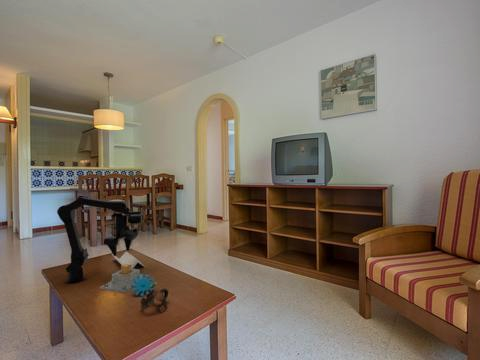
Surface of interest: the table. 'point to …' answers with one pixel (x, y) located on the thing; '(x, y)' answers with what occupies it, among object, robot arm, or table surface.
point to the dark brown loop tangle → (158, 296)
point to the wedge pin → (125, 268)
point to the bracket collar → (122, 281)
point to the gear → (143, 285)
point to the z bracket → (128, 260)
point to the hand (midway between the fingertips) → (121, 253)
